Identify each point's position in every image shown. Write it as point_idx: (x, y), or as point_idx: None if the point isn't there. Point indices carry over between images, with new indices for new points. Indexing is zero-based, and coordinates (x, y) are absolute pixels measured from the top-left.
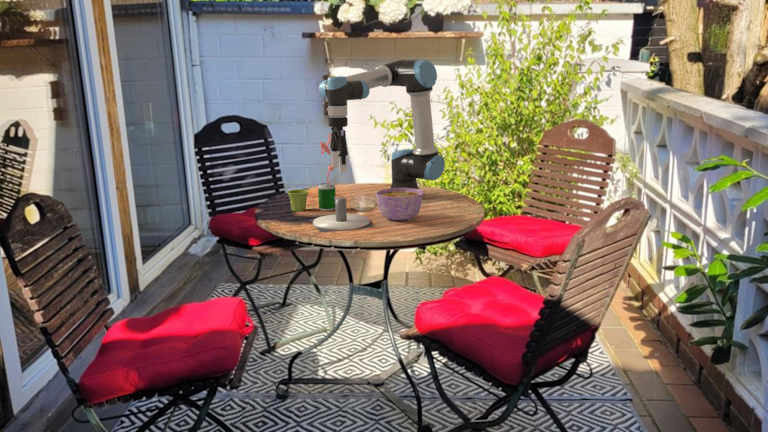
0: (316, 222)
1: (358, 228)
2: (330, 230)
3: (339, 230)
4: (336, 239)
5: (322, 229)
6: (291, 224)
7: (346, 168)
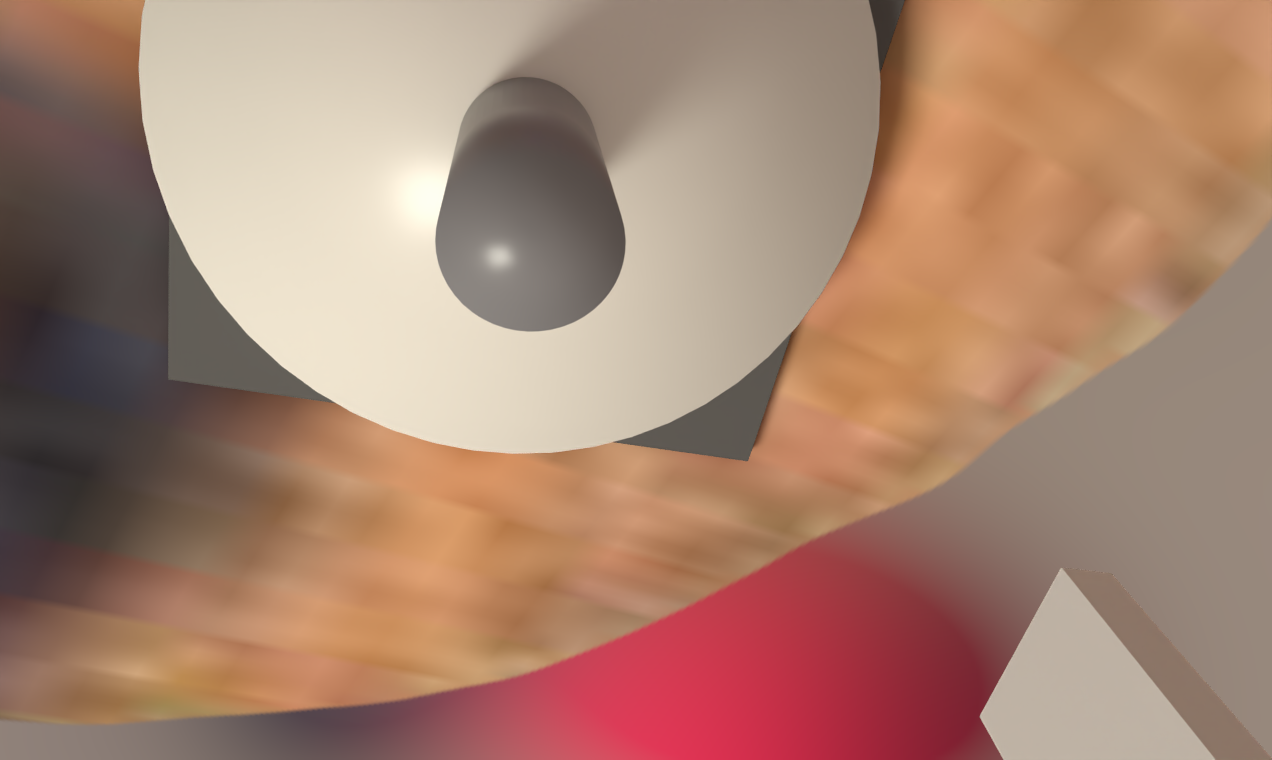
0: (472, 420)
1: None
2: None
3: None
4: (1008, 405)
5: None
6: (254, 557)
7: (1184, 671)
